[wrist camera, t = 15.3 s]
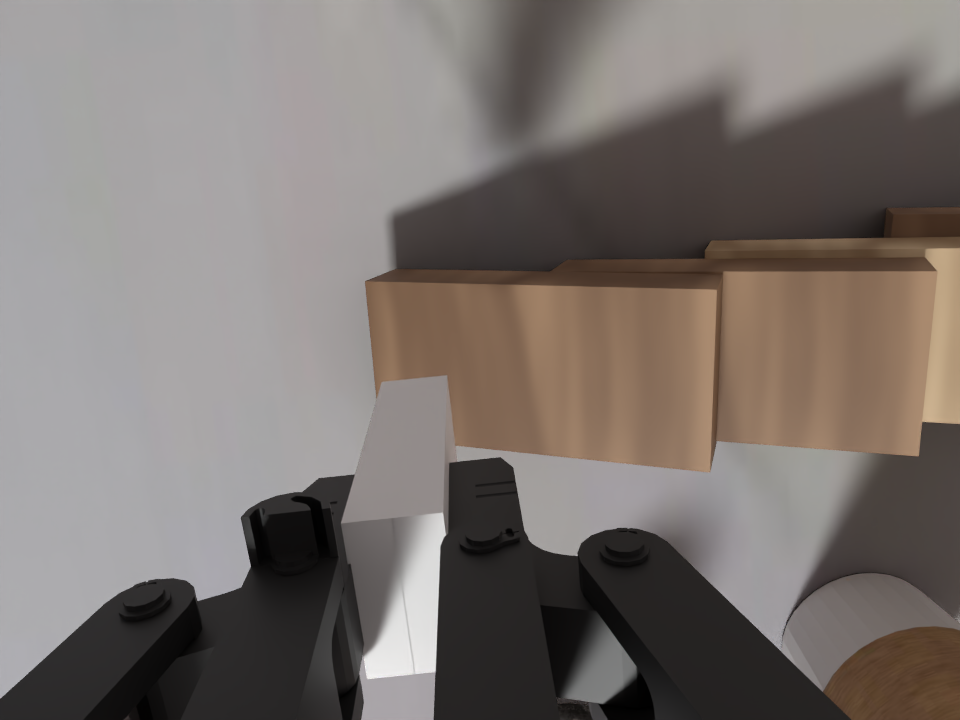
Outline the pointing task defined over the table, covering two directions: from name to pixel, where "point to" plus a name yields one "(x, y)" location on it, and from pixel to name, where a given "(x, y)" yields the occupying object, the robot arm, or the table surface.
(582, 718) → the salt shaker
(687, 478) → the table surface
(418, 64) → the table surface
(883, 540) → the table surface
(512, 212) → the table surface
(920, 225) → the domino
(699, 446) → the domino
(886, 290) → the domino
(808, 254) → the oak domino
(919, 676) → the coffee cup
